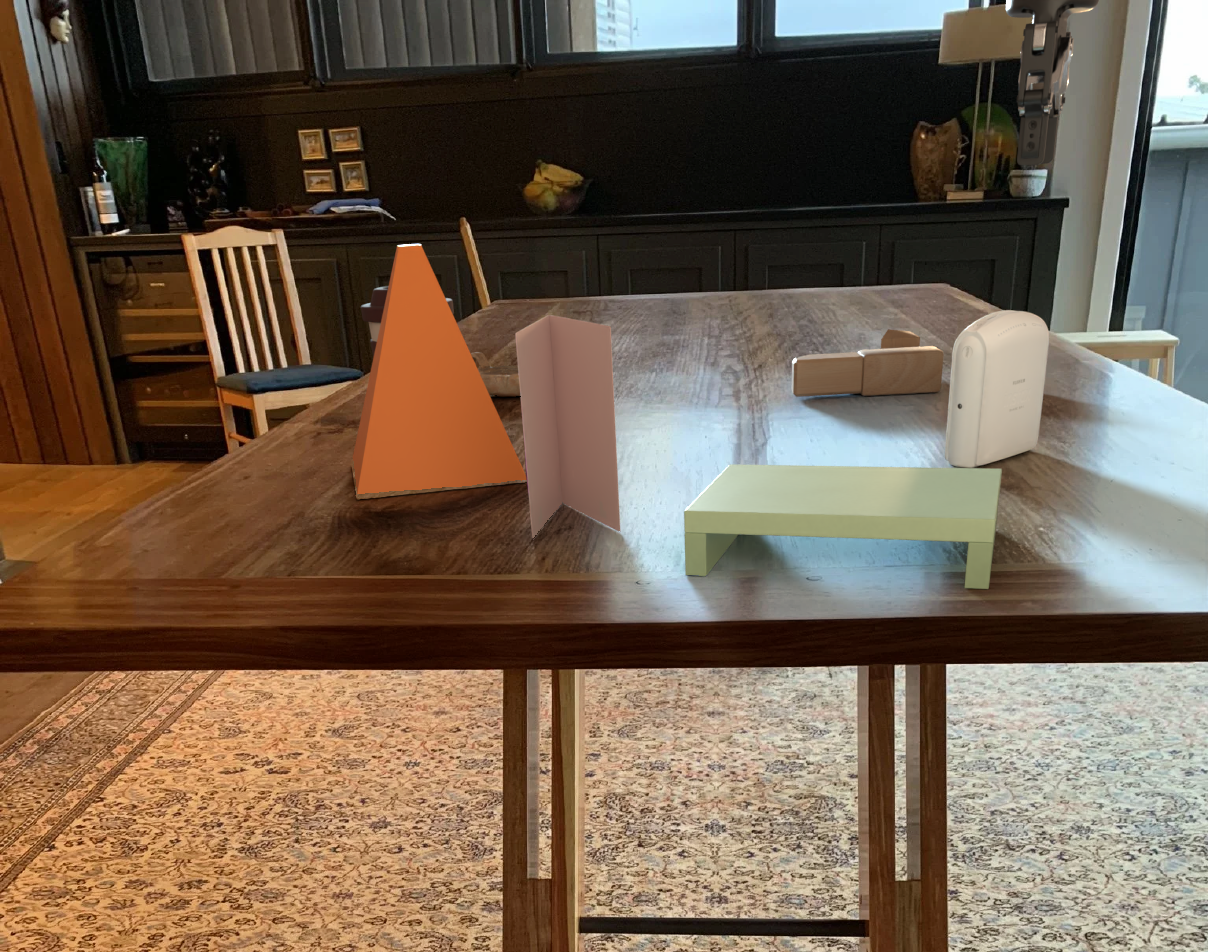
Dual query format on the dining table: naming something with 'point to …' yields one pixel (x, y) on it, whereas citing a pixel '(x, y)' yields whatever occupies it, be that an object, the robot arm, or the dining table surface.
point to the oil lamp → (498, 377)
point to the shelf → (847, 509)
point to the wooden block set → (872, 369)
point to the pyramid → (426, 396)
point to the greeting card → (568, 419)
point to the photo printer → (996, 388)
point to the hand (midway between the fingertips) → (1035, 164)
